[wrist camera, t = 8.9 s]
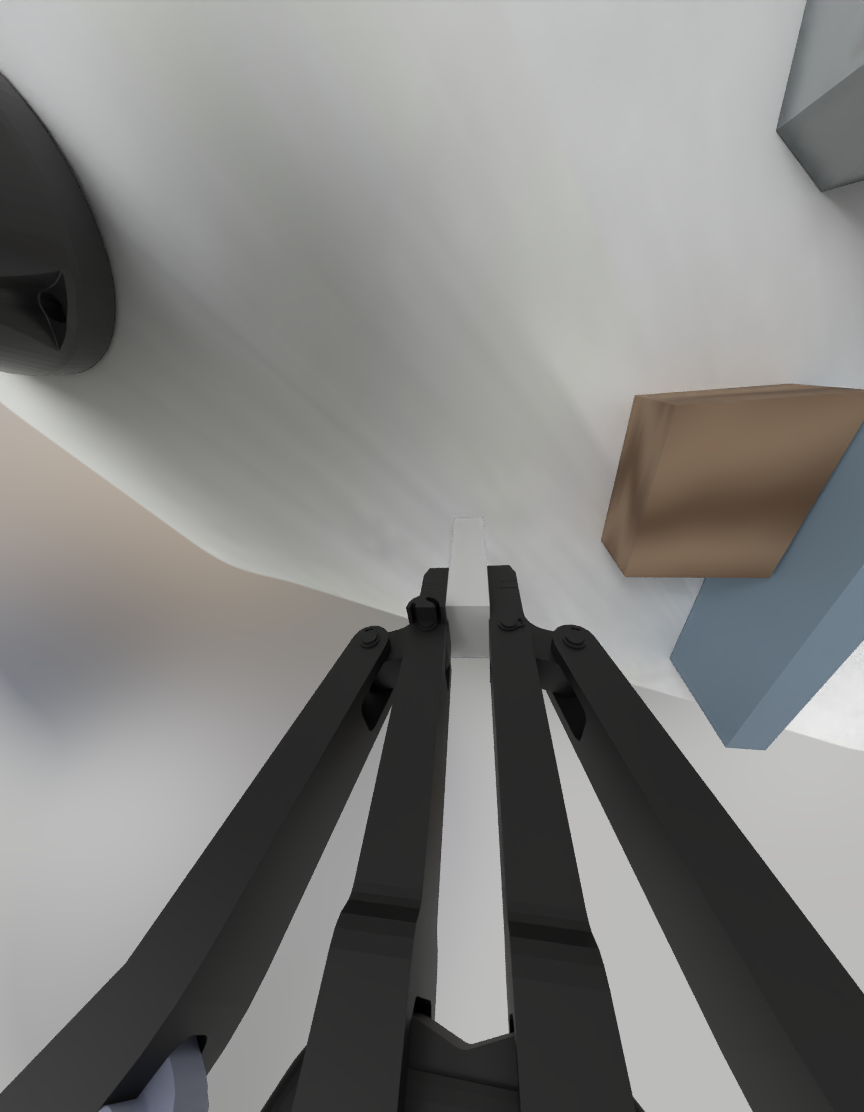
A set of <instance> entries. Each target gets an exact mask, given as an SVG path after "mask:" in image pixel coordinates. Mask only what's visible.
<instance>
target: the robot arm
mask: <svg viewBox="0 0 864 1112" xmlns="http://www.w3.org/2000/svg"><path fill="white" fill-rule="evenodd" d="M114 321H115V298H114V288H113V282H112V276H111V271H110V267H109V263H108V259H107V255H106V252H105V248H104V245H103V242H102V239H101V236H100V233H99V231H98V228H97V225H96V223H95V220H94V218H93V215H92V213H91V211H90V208H89V206H88V204H87V202H86V200H85V197H84V195H83V193H82V191H81V189H80V187H79V185H78V183H77V181H76V180H75V178H74V176H73V174H72V172H71V170H70V169H69V167H68V165H67V163H66V162H65V160H64V158H63V157H62V155H61V153H60V152H59V150H58V148H57V147H56V145H55V144H54V142H53V141H52V139H51V138H50V136H49V134H48V133H47V132H46V130H45V129H44V127H43V126H42V124H41V123H40V122H39V120H38V119H37V117H36V116H35V115H34V113H33V112H32V111H31V109H30V108H29V107H28V105H27V104H26V103H25V102H24V100H23V99H22V98H21V97H20V95H19V94H18V93H17V92H16V91H15V89H14V88H13V87H12V86H11V85H10V84H9V82H8V81H7V80H6V79H5V78H4V77H3V76H2V74H1V73H0V371H2V372H7V373H12V374H20V375H62V374H74V373H79V372H82V371H85V370H87V369H89V368H90V367H92V366H93V365H95V364H96V363H97V362H98V361H99V360H100V359H101V357H102V356H103V355H104V353H105V352H106V350H107V348H108V346H109V343H110V340H111V337H112V333H113V329H114ZM422 584H423V585H422V588H421V593H420V596H418V597H416V598H413V599H412V600H411V601H410V602H409V603H408V605H407V607H406V609H407V614H408V619H409V623H410V624H409V625H408V626H406V627H404V628H402V629H399V630H395V631H392V632H387V631H386V630H385V629H384V628H382V627H380V626H370V627H366V628H364V629H362V630H360V631H359V632H358V633H357V634H356V635H355V636H354V637H353V639H352V640H351V641H350V643H349V644H348V646H347V647H346V648H345V650H344V651H343V653H342V654H341V656H340V657H339V658H338V660H337V661H336V663H335V664H334V666H333V667H332V669H331V670H330V671H329V673H328V674H327V676H326V677H325V679H324V680H323V682H322V683H321V685H320V686H319V687H318V689H317V690H316V691H315V693H314V694H313V696H312V697H311V699H310V700H309V701H308V703H307V704H306V706H305V707H304V709H303V710H302V712H301V713H300V714H299V716H298V717H297V719H296V720H295V722H294V723H293V724H292V726H291V727H290V729H289V730H288V732H287V733H286V735H285V736H284V737H283V739H282V740H281V742H280V743H279V744H278V746H277V747H276V749H275V750H274V752H273V753H272V754H271V756H270V757H269V759H268V760H267V762H266V763H265V764H264V766H263V767H262V769H261V770H260V772H259V773H258V775H257V776H256V777H255V779H254V780H253V782H252V783H251V785H250V786H249V787H248V789H247V790H246V792H245V793H244V795H243V796H242V797H241V799H240V800H239V802H238V803H237V805H236V806H235V807H234V809H233V810H232V812H231V813H230V815H229V816H228V818H227V819H226V821H225V822H224V823H223V825H222V826H221V828H220V829H219V830H218V832H217V833H216V835H215V836H214V838H213V839H212V841H211V842H210V843H209V845H208V846H207V848H206V849H205V850H204V852H203V854H202V855H201V856H200V858H199V859H198V861H197V862H196V864H195V865H194V866H193V868H192V869H191V870H190V872H189V873H188V875H187V876H186V878H185V879H184V881H183V882H182V883H181V885H180V886H179V888H178V889H177V891H176V892H175V894H174V895H173V896H172V898H171V899H170V901H169V902H168V903H167V905H166V906H165V908H164V909H163V911H162V912H161V913H160V915H159V916H158V918H157V919H156V921H155V922H154V924H153V925H152V926H151V928H150V929H149V931H148V932H147V934H146V935H145V936H144V938H143V939H142V941H141V942H140V944H139V945H138V946H137V948H136V949H135V951H134V952H133V954H132V955H131V956H130V958H129V959H128V961H127V962H126V964H125V965H124V966H123V967H122V968H121V969H120V970H119V971H118V972H117V973H116V974H115V975H114V976H113V977H112V978H111V979H110V980H109V981H108V982H107V983H106V984H105V985H104V986H103V987H102V988H101V990H100V991H99V992H98V993H97V994H96V995H95V996H94V997H93V998H92V999H91V1000H90V1001H89V1002H88V1003H87V1004H86V1005H85V1006H84V1007H83V1008H82V1010H80V1011H79V1012H78V1013H77V1015H76V1016H75V1017H74V1018H73V1019H72V1020H71V1021H70V1022H69V1023H68V1024H67V1025H66V1026H65V1027H64V1028H63V1029H62V1030H61V1031H60V1032H59V1033H58V1034H57V1035H56V1036H55V1037H54V1039H52V1040H51V1041H50V1043H49V1044H48V1045H47V1046H46V1047H45V1048H44V1049H43V1050H42V1051H41V1052H40V1053H39V1054H38V1055H37V1056H36V1057H35V1058H34V1059H33V1060H32V1061H31V1063H29V1064H28V1065H27V1066H26V1068H25V1069H24V1070H23V1071H22V1072H21V1073H20V1074H19V1075H18V1076H17V1077H16V1078H15V1079H14V1080H13V1081H12V1082H11V1083H10V1084H9V1085H8V1086H7V1087H6V1088H5V1089H4V1090H3V1092H2V1093H1V1094H0V1112H208V1108H209V1102H208V1093H207V1090H208V1085H207V1077H206V1076H207V1074H208V1073H209V1071H210V1070H211V1068H212V1067H213V1065H214V1064H215V1062H216V1061H217V1059H218V1058H219V1056H220V1055H221V1053H222V1052H223V1050H224V1049H225V1047H226V1045H227V1044H228V1042H229V1041H230V1039H231V1037H232V1035H233V1033H234V1032H235V1030H236V1029H237V1027H238V1025H239V1023H240V1022H241V1020H242V1018H243V1017H244V1015H245V1013H246V1011H247V1010H248V1008H249V1006H250V1004H251V1002H252V1000H253V998H254V996H255V994H256V992H257V990H258V988H259V986H260V985H261V982H262V980H263V979H264V977H265V975H266V973H267V971H268V968H269V967H270V964H271V962H272V960H273V958H274V956H275V954H276V952H277V949H278V947H279V945H280V943H281V941H282V939H283V937H284V934H285V932H286V930H287V928H288V926H289V924H290V922H291V920H292V917H293V915H294V913H295V911H296V909H297V907H298V904H299V902H300V900H301V898H302V896H303V894H304V892H305V889H306V887H307V885H308V883H309V881H310V879H311V876H312V875H313V873H314V870H315V868H316V866H317V864H318V862H319V860H320V858H321V855H322V853H323V851H324V849H325V847H326V845H327V842H328V841H329V838H330V836H331V834H332V832H333V830H334V827H335V826H336V823H337V821H338V819H339V817H340V815H341V813H342V811H343V809H344V806H345V804H346V802H347V800H348V798H349V796H350V793H351V791H352V789H353V787H354V785H355V783H356V781H357V778H358V777H359V774H360V772H361V770H362V768H363V766H364V764H365V761H366V759H367V757H368V755H369V753H370V751H371V749H372V747H373V744H374V742H375V740H376V738H377V736H378V734H379V732H380V729H381V727H382V725H383V723H384V721H385V719H386V716H387V715H388V712H389V710H390V708H391V706H392V709H391V713H390V719H389V723H388V727H387V732H386V737H385V742H384V746H383V751H382V755H381V760H380V764H379V769H378V774H377V778H376V783H375V788H374V792H373V797H372V802H371V806H370V811H369V816H368V820H367V825H366V830H365V834H364V839H363V844H362V848H361V853H360V857H359V862H358V867H357V872H356V876H355V881H354V885H353V888H352V892H351V895H350V897H349V900H348V901H347V903H346V905H345V906H344V908H343V910H342V911H341V914H340V916H339V918H338V921H337V924H336V926H335V929H334V933H333V937H332V940H331V944H330V948H329V952H328V956H327V961H326V965H325V969H324V974H323V978H322V982H321V987H320V991H319V995H318V999H317V1004H316V1008H315V1012H314V1017H313V1021H312V1025H311V1030H310V1034H309V1038H308V1042H307V1045H306V1046H305V1048H304V1049H303V1050H302V1051H301V1053H300V1054H299V1055H298V1056H297V1058H296V1059H295V1060H294V1061H293V1063H292V1064H291V1066H290V1067H289V1069H288V1070H287V1072H286V1073H285V1075H284V1076H283V1078H282V1079H281V1081H280V1082H279V1084H278V1086H277V1087H276V1089H275V1090H274V1092H273V1093H272V1095H271V1096H270V1098H269V1099H268V1101H267V1102H266V1104H265V1106H264V1107H263V1109H262V1110H261V1112H645V1111H644V1110H643V1109H642V1108H641V1106H640V1105H639V1104H638V1102H637V1101H636V1100H635V1099H634V1097H633V1096H632V1091H631V1087H630V1082H629V1077H628V1072H627V1068H626V1063H625V1058H624V1054H623V1049H622V1044H621V1040H620V1035H619V1030H618V1026H617V1021H616V1016H615V1012H614V1007H613V1003H612V998H611V993H610V988H609V984H608V980H607V976H606V972H605V968H604V964H603V961H602V958H601V954H600V951H599V948H598V946H597V944H596V941H595V939H594V937H593V934H592V932H591V928H590V925H589V921H588V918H587V913H586V908H585V903H584V898H583V893H582V888H581V883H580V878H579V874H578V868H577V863H576V858H575V853H574V848H573V843H572V838H571V833H570V828H569V823H568V819H567V813H566V809H565V804H564V799H563V794H562V789H561V784H560V779H559V774H558V769H557V764H556V759H555V754H554V749H553V744H552V739H551V734H550V729H549V724H548V719H547V714H546V709H545V704H544V699H543V694H542V689H544V690H546V692H547V694H548V696H549V698H550V700H551V702H552V704H553V706H554V708H555V710H556V712H557V714H558V716H559V718H560V721H561V723H562V725H563V727H564V729H565V731H566V733H567V735H568V737H569V739H570V741H571V743H572V745H573V747H574V749H575V752H576V754H577V756H578V758H579V760H580V762H581V764H582V766H583V768H584V770H585V772H586V774H587V776H588V778H589V780H590V782H591V784H592V786H593V789H594V791H595V793H596V795H597V797H598V799H599V801H600V803H601V805H602V807H603V809H604V811H605V813H606V815H607V817H608V819H609V821H610V823H611V825H612V827H613V830H614V832H615V834H616V836H617V838H618V840H619V842H620V844H621V846H622V848H623V850H624V852H625V854H626V856H627V858H628V860H629V862H630V864H631V867H632V869H633V871H634V873H635V875H636V877H637V879H638V881H639V883H640V885H641V887H642V889H643V891H644V893H645V895H646V897H647V899H648V901H649V904H650V906H651V908H652V910H653V912H654V914H655V916H656V918H657V920H658V922H659V924H660V926H661V928H662V930H663V932H664V934H665V936H666V938H667V941H668V943H669V944H670V947H671V948H672V951H673V953H674V955H675V957H676V959H677V961H678V963H679V965H680V967H681V969H682V971H683V973H684V975H685V977H686V980H687V981H688V984H689V986H690V988H691V990H692V992H693V994H694V996H695V998H696V1000H697V1002H698V1004H699V1006H700V1008H701V1010H702V1012H703V1014H704V1017H705V1019H706V1021H707V1023H708V1025H709V1027H710V1029H711V1031H712V1033H713V1035H714V1037H715V1039H716V1041H717V1043H718V1045H719V1047H720V1050H721V1051H722V1053H723V1055H724V1057H725V1059H726V1061H727V1063H728V1065H729V1067H730V1069H731V1071H732V1073H733V1075H734V1076H735V1078H736V1080H737V1082H738V1084H739V1086H740V1088H741V1090H742V1092H743V1094H744V1096H745V1097H746V1099H747V1101H748V1103H749V1105H750V1107H751V1109H752V1111H753V1112H864V994H863V992H862V991H861V990H860V989H859V987H858V986H857V984H856V983H855V982H854V980H853V979H852V978H851V976H850V975H849V974H848V972H847V971H846V970H845V968H844V967H843V966H842V965H841V963H840V962H839V960H838V959H837V958H836V956H835V955H834V954H833V952H832V951H831V950H830V948H829V947H828V946H827V944H826V943H825V942H824V941H823V939H822V938H821V937H820V935H819V934H818V933H817V931H816V930H815V929H814V927H813V926H812V925H811V923H810V922H809V921H808V919H807V918H806V917H805V915H804V914H803V913H802V911H801V910H800V909H799V907H798V906H797V905H796V904H795V902H794V901H793V900H792V898H791V897H790V895H789V894H788V893H787V891H786V890H785V889H784V887H783V886H782V885H781V883H780V882H779V881H778V879H777V878H776V877H775V875H774V874H773V873H772V872H771V870H770V869H769V867H768V866H767V865H766V864H765V862H764V861H763V860H762V858H761V857H760V856H759V854H758V853H757V852H756V850H755V849H754V848H753V846H752V845H751V844H750V842H749V841H748V840H747V838H746V837H745V836H744V834H743V833H742V832H741V830H740V829H739V828H738V826H737V825H736V824H735V822H734V821H733V820H732V819H731V817H730V816H729V814H728V813H727V812H726V810H725V809H724V808H723V806H722V805H721V804H720V803H719V801H718V800H717V798H716V797H715V796H714V795H713V793H712V792H711V790H710V789H709V788H708V787H707V786H706V784H705V783H704V781H703V780H702V779H701V777H700V776H699V775H698V773H697V772H696V771H695V769H694V768H693V767H692V765H691V764H690V763H689V761H688V760H687V759H686V757H685V756H684V755H683V754H682V752H681V751H680V749H679V748H678V747H677V745H676V744H675V743H674V741H673V740H672V739H671V738H670V736H669V735H668V733H667V732H666V731H665V729H664V728H663V727H662V725H661V724H660V723H659V721H658V720H657V719H656V718H655V716H654V715H653V714H652V712H651V711H650V710H649V708H648V707H647V706H646V704H645V703H644V702H643V700H642V699H641V698H640V696H639V695H638V694H637V692H636V691H635V690H634V688H633V687H632V686H631V684H630V683H629V682H628V680H627V679H626V678H625V676H624V675H623V674H622V672H621V671H620V670H619V668H618V667H617V666H616V664H615V663H614V662H613V660H612V659H611V658H610V656H609V655H608V654H607V652H606V651H605V650H604V648H603V647H602V646H601V644H600V643H599V642H598V641H597V639H596V638H595V637H594V635H592V634H591V633H590V632H589V631H588V630H586V629H584V628H582V627H580V626H576V625H563V626H560V627H558V628H557V629H556V630H555V631H554V632H553V631H549V630H545V629H542V628H539V627H536V626H534V625H533V624H531V623H530V622H529V621H528V620H527V619H526V618H525V616H524V613H523V609H522V604H521V598H520V593H519V589H518V583H517V578H516V573H515V571H514V570H513V569H512V568H511V567H510V566H509V565H501V566H487V561H486V547H485V533H484V519H483V517H466V518H454V524H453V534H452V544H451V554H450V565H449V568H430V569H429V570H428V571H427V572H426V574H425V575H424V578H423V583H422ZM451 657H452V658H490V683H491V696H492V697H491V698H492V716H493V734H494V752H495V771H496V787H497V806H498V826H499V843H500V862H501V879H502V898H503V917H504V934H505V959H506V960H505V962H506V984H507V1001H508V1021H509V1034H505V1035H502V1036H499V1037H495V1038H492V1039H488V1040H485V1041H481V1042H478V1043H475V1044H468V1043H466V1042H464V1041H463V1040H461V1039H460V1038H459V1037H457V1036H455V1035H454V1034H453V1033H451V1032H450V1031H448V1030H447V1029H446V1028H444V1027H443V1026H441V1025H440V1024H438V1023H437V1022H435V1003H436V984H437V952H438V949H437V915H438V898H439V881H440V862H441V845H442V826H443V808H444V793H445V775H446V757H447V740H448V721H449V705H450V686H451V662H450V660H451Z"/></svg>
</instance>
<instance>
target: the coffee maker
mask: <svg viewBox="0 0 864 1112" xmlns="http://www.w3.org/2000/svg"><path fill="white" fill-rule="evenodd" d="M776 131H777V133H778V134H779V135H780V137H781V138H782V139H783V141H784V142H785V143H786V145H787V146H788V147H789V149H790V150H791V152H792V153H793V154H794V156H795V157H796V158H797V160H798V161H799V162H800V164H801V165H802V166H803V168H804V169H805V170H806V172H807V173H808V174H809V176H810V177H811V179H812V180H813V181H814V183H815V184H816V185H817V187H818V188H819V189H820V191H821V192H823V191H826V190H830V189H833V188H837V187H840V186H844V185H847V184H851V183H854V182H858V181H861V180H864V0H807V3H806V7H805V11H804V16H803V20H802V24H801V28H800V32H799V37H798V41H797V45H796V49H795V53H794V58H793V62H792V66H791V70H790V74H789V79H788V83H787V87H786V91H785V95H784V100H783V104H782V108H781V112H780V117H779V121H778V125H777V129H776Z"/></svg>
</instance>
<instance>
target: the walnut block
mask: <svg viewBox="0 0 864 1112" xmlns="http://www.w3.org/2000/svg"><path fill="white" fill-rule="evenodd" d="M863 421H864V390H863V389H850V388H837V387H825V386H812V385H799V384H780V385H767V386H754V387H741V388H728V389H714V390H701V391H688V392H675V393H662V394H648V395H635V397H634V401H633V405H632V410H631V414H630V418H629V422H628V427H627V431H626V435H625V440H624V444H623V448H622V453H621V457H620V461H619V465H618V470H617V474H616V478H615V483H614V487H613V491H612V496H611V500H610V504H609V509H608V513H607V517H606V521H605V526H604V530H603V534H602V539H601V541H602V543H603V544H604V546H605V547H606V549H607V550H608V552H609V553H610V555H611V556H612V558H613V559H614V561H615V562H616V564H617V565H618V567H619V569H620V570H621V572H622V573H623V575H624V576H625V577H694V578H770V576H771V575H772V573H773V571H774V570H775V568H776V566H777V565H778V563H779V561H780V560H781V558H782V556H783V555H784V553H785V551H786V550H787V548H788V546H789V545H790V543H791V541H792V540H793V538H794V536H795V535H796V533H797V531H798V530H799V528H800V526H801V525H802V523H803V521H804V519H805V518H806V516H807V514H808V513H809V511H810V509H811V508H812V506H813V504H814V503H815V501H816V499H817V498H818V496H819V494H820V493H821V491H822V489H823V488H824V486H825V484H826V483H827V481H828V479H829V478H830V476H831V474H832V473H833V471H834V469H835V468H836V466H837V464H838V463H839V461H840V459H841V458H842V456H843V454H844V453H845V451H846V449H847V448H848V446H849V444H850V443H851V441H852V439H853V438H854V436H855V434H856V433H857V431H858V429H859V428H860V426H861V424H862V422H863Z"/></svg>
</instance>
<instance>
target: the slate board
mask: <svg viewBox="0 0 864 1112" xmlns="http://www.w3.org/2000/svg"><path fill="white" fill-rule="evenodd" d="M863 640H864V421H863V422H862V424H861V426H860V428H859V429H858V431H857V433H856V434H855V436H854V438H853V439H852V441H851V443H850V444H849V446H848V448H847V449H846V451H845V453H844V454H843V456H842V458H841V459H840V461H839V463H838V464H837V466H836V468H835V469H834V471H833V473H832V474H831V476H830V478H829V479H828V481H827V483H826V484H825V486H824V488H823V489H822V491H821V493H820V494H819V496H818V498H817V499H816V501H815V503H814V504H813V506H812V508H811V509H810V511H809V513H808V514H807V516H806V518H805V519H804V521H803V523H802V525H801V526H800V528H799V530H798V531H797V533H796V535H795V536H794V538H793V540H792V541H791V543H790V545H789V546H788V548H787V550H786V551H785V553H784V555H783V556H782V558H781V560H780V561H779V563H778V565H777V566H776V568H775V570H774V571H773V573H772V575H771V576H770V578H705V581H704V583H703V585H702V587H701V590H700V592H699V594H698V596H697V599H696V601H695V603H694V605H693V607H692V610H691V612H690V614H689V616H688V619H687V621H686V623H685V625H684V628H683V630H682V632H681V634H680V637H679V639H678V641H677V643H676V646H675V648H674V650H673V652H672V655H671V657H670V660H671V662H672V663H673V665H674V666H675V668H676V670H677V671H678V673H679V674H680V676H681V678H682V679H683V681H684V682H685V684H686V685H687V687H688V689H689V690H690V692H691V693H692V695H693V697H694V698H695V700H696V701H697V703H698V704H699V706H700V708H701V709H702V711H703V712H704V714H705V716H706V717H707V719H708V720H709V722H710V724H711V725H712V727H713V728H714V730H715V731H716V733H717V735H718V736H719V738H720V739H721V741H722V743H723V744H724V746H725V747H728V748H741V749H755V750H766V749H767V748H768V746H769V745H770V744H771V743H772V742H773V741H774V740H775V739H776V738H777V736H778V735H779V734H780V733H781V732H782V731H783V730H784V729H785V728H786V726H787V725H788V724H789V723H790V722H791V721H792V720H793V719H794V717H795V716H796V715H797V714H798V713H799V712H800V711H801V710H802V708H803V707H804V706H805V705H806V704H807V703H808V702H809V701H810V700H811V698H812V697H813V696H814V695H815V694H816V693H817V692H818V691H819V689H820V688H821V687H822V686H823V685H824V684H825V683H826V682H827V680H828V679H829V678H830V677H831V676H832V675H833V674H834V673H835V671H836V670H837V669H838V668H839V667H840V666H841V665H842V664H843V663H844V661H845V660H846V659H847V658H848V657H849V656H850V655H851V654H852V652H853V651H854V650H855V649H856V648H857V647H858V646H859V645H860V643H861V642H862V641H863Z"/></svg>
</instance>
